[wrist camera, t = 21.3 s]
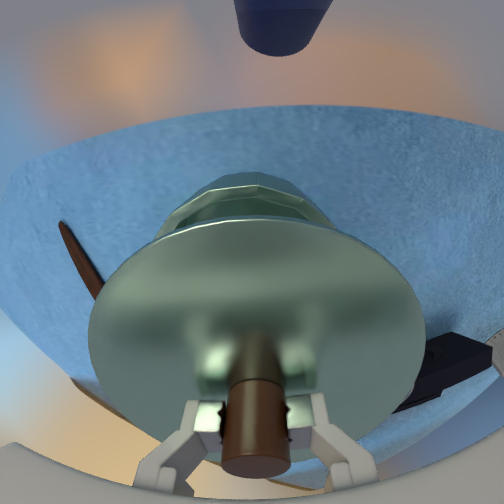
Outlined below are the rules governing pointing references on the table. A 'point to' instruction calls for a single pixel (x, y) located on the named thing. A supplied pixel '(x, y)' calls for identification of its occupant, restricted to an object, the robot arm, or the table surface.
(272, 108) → the table surface
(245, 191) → the tin
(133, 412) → the lid
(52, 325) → the table surface
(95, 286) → the spoon
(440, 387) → the storage box
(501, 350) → the cassette
